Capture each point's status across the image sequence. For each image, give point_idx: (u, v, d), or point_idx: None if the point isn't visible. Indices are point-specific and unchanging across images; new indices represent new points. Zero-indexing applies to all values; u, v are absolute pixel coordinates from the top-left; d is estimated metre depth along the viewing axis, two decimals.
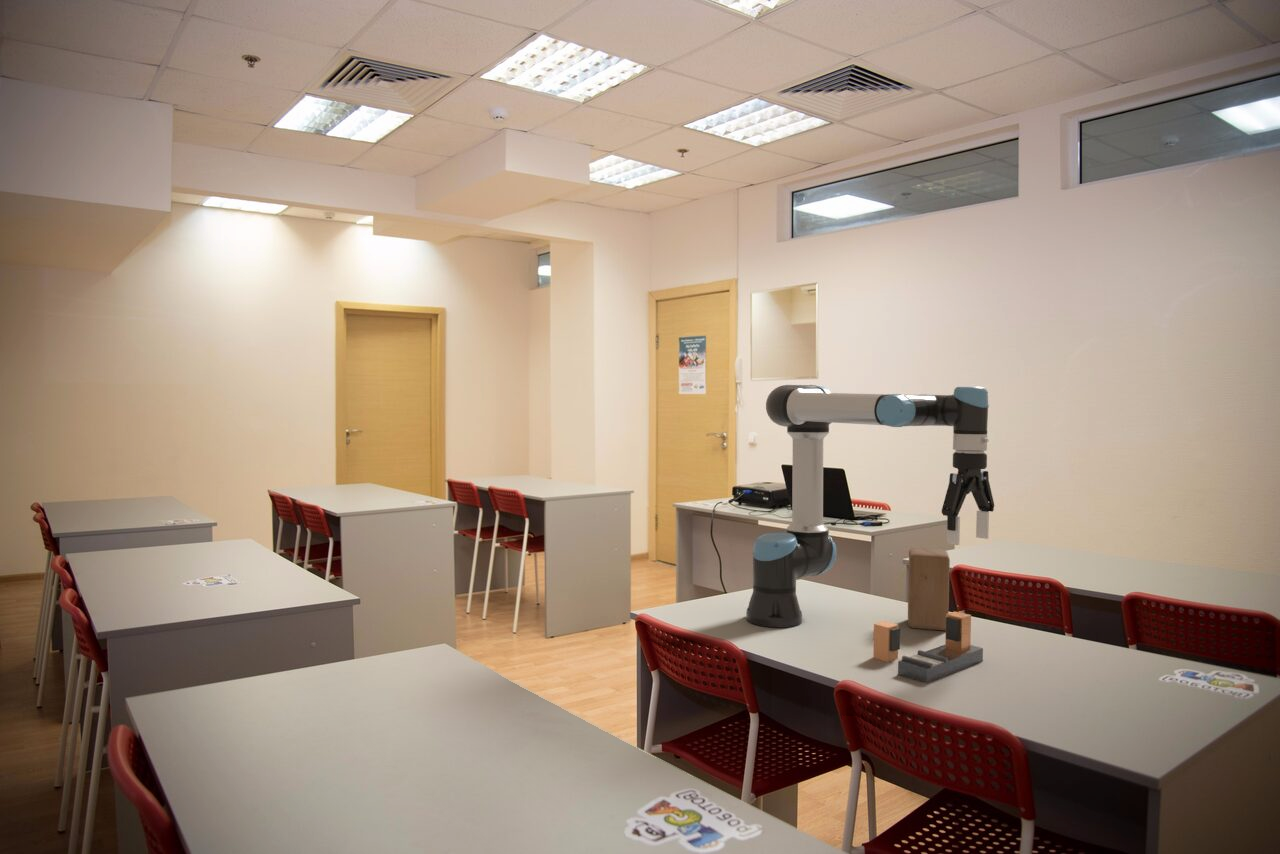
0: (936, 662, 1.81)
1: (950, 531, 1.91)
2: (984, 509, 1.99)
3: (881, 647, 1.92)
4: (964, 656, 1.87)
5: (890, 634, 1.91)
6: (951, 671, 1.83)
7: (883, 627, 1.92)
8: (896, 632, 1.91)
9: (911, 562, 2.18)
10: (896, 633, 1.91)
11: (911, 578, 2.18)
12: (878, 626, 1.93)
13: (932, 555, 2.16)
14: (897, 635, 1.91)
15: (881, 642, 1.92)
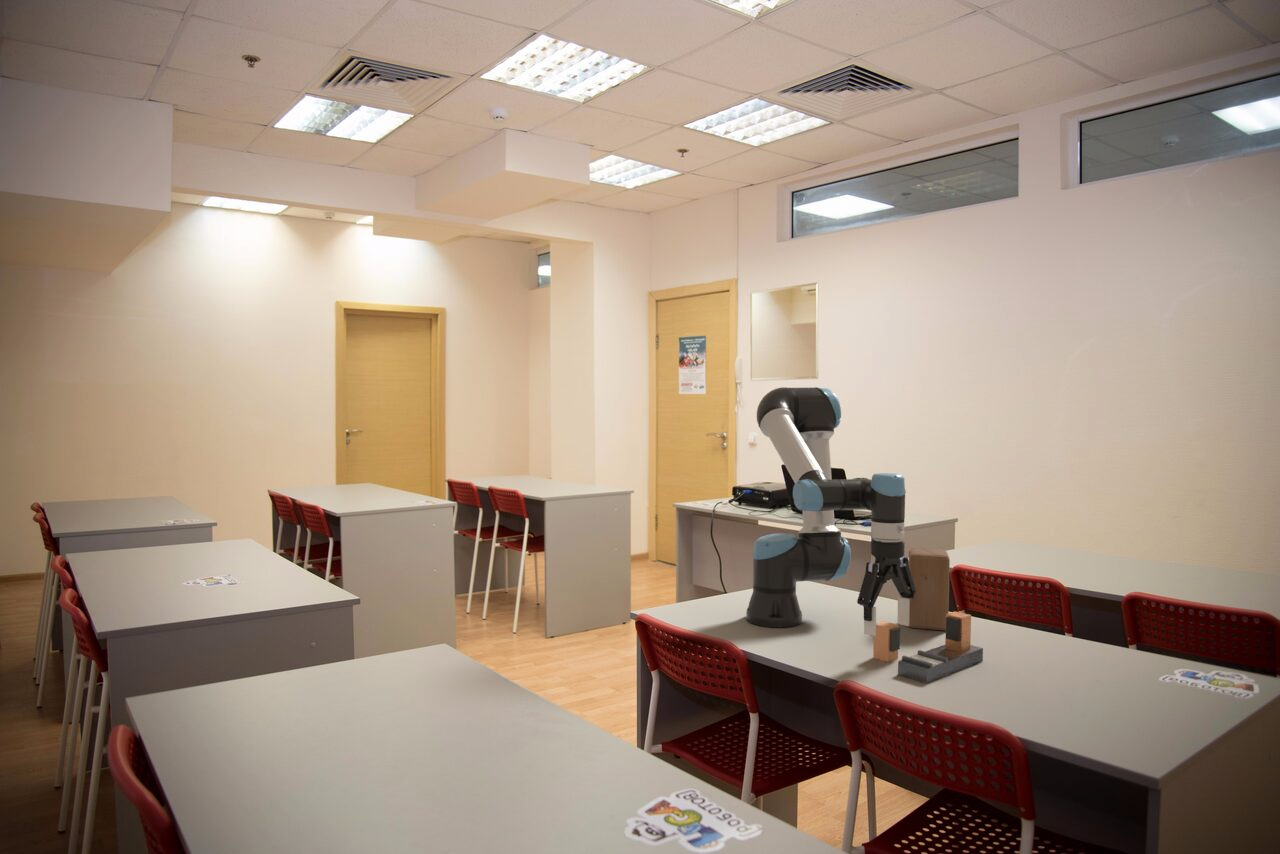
0: (936, 662, 1.81)
1: (867, 621, 1.89)
2: (905, 595, 1.97)
3: (881, 647, 1.92)
4: (964, 656, 1.87)
5: (890, 634, 1.91)
6: (951, 671, 1.83)
7: (883, 627, 1.92)
8: (896, 632, 1.91)
9: (911, 562, 2.18)
10: (896, 633, 1.91)
11: None
12: (878, 626, 1.93)
13: (932, 555, 2.16)
14: (897, 635, 1.91)
15: (881, 642, 1.92)
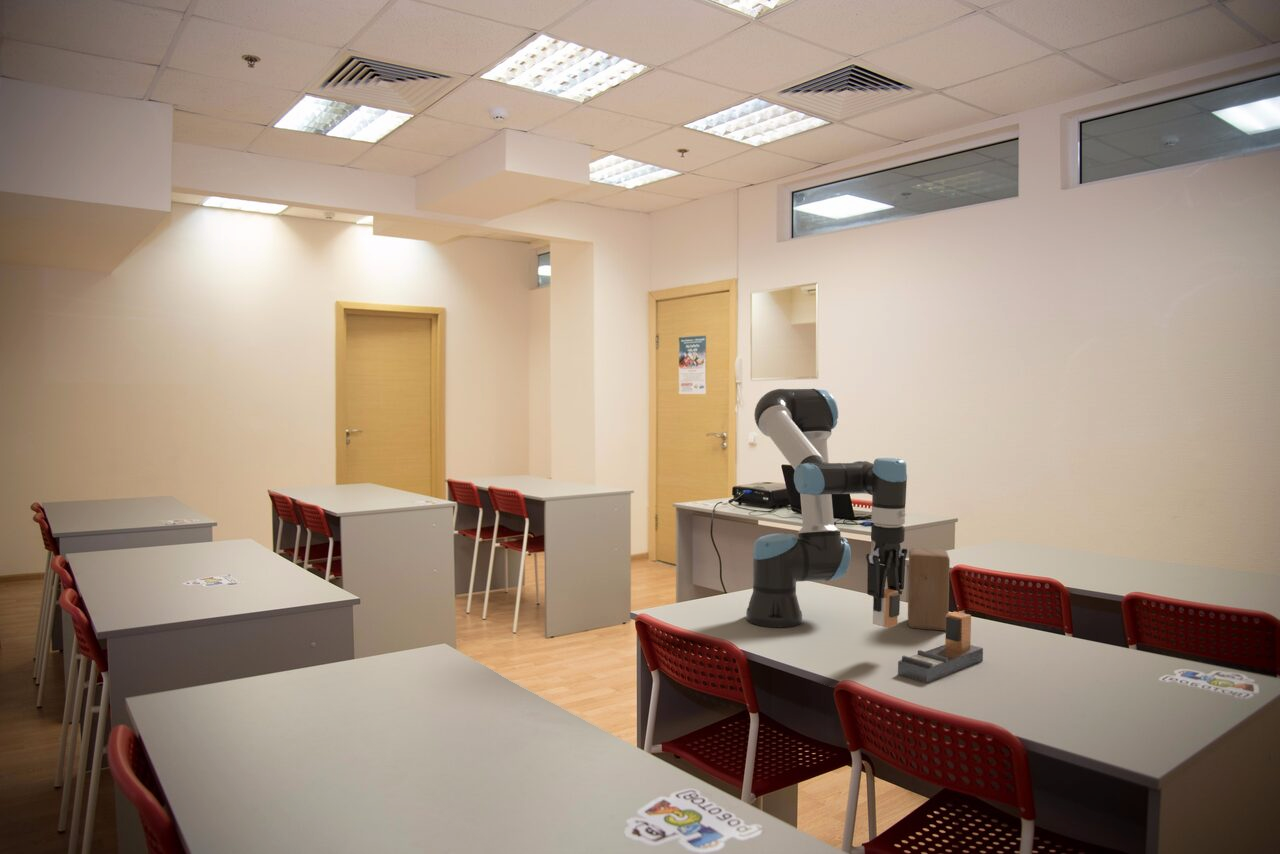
0: (936, 662, 1.81)
1: (876, 611, 1.92)
2: None
3: None
4: (964, 656, 1.87)
5: (890, 600, 1.91)
6: (951, 671, 1.83)
7: None
8: (895, 598, 1.91)
9: (911, 562, 2.18)
10: (896, 599, 1.91)
11: (911, 578, 2.18)
12: None
13: (932, 555, 2.16)
14: (897, 601, 1.92)
15: None
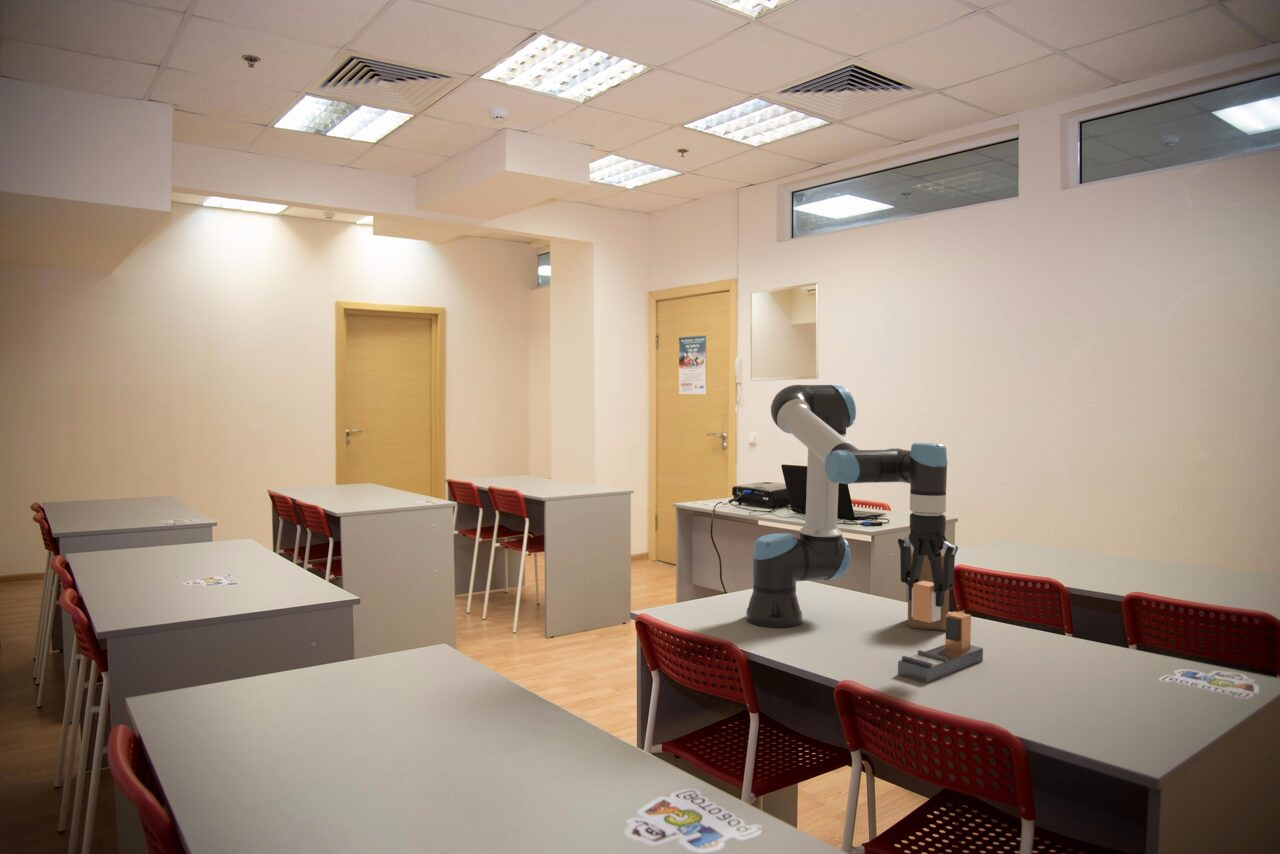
0: (936, 662, 1.81)
1: (936, 607, 1.79)
2: None
3: None
4: (964, 656, 1.87)
5: None
6: (951, 671, 1.83)
7: None
8: None
9: (911, 562, 2.18)
10: None
11: None
12: (932, 587, 1.80)
13: None
14: None
15: None
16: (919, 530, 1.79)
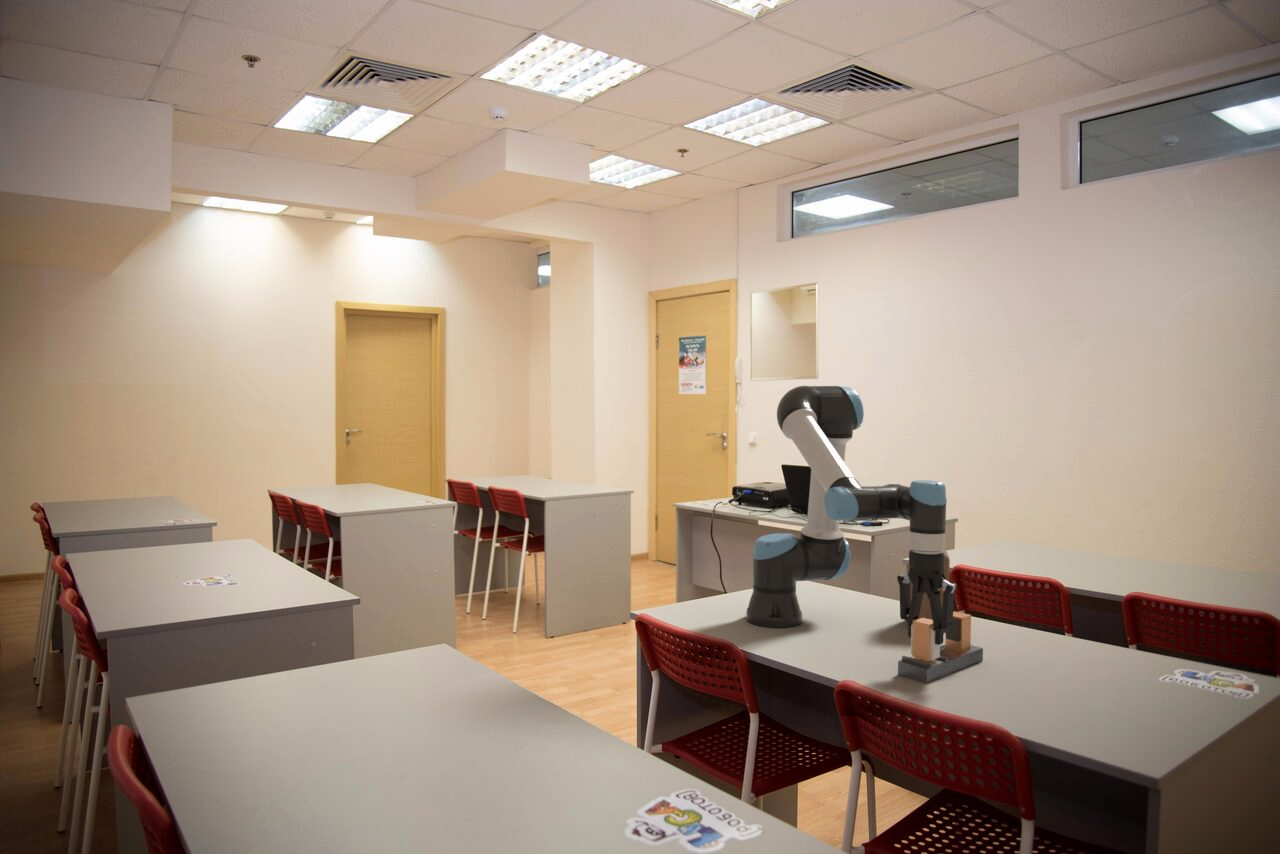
0: (936, 662, 1.81)
1: (935, 645, 1.80)
2: None
3: None
4: (964, 656, 1.87)
5: None
6: (951, 671, 1.83)
7: None
8: None
9: None
10: None
11: None
12: (932, 625, 1.80)
13: None
14: None
15: None
16: (918, 568, 1.79)
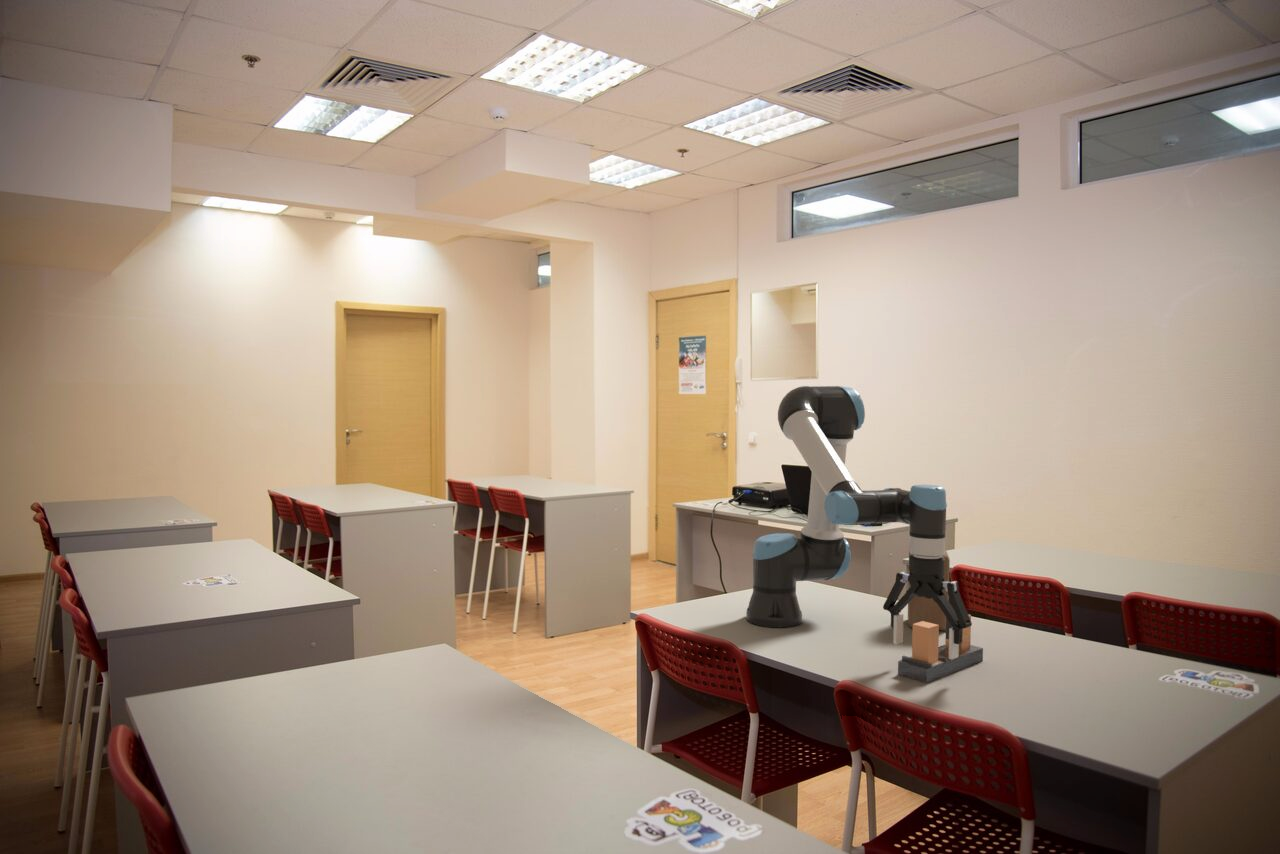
0: (936, 662, 1.81)
1: (954, 645, 1.76)
2: (897, 612, 1.88)
3: (934, 649, 1.81)
4: (964, 656, 1.87)
5: None
6: (951, 671, 1.83)
7: (935, 627, 1.81)
8: None
9: None
10: None
11: None
12: (932, 628, 1.80)
13: None
14: None
15: (934, 643, 1.81)
16: (918, 573, 1.79)
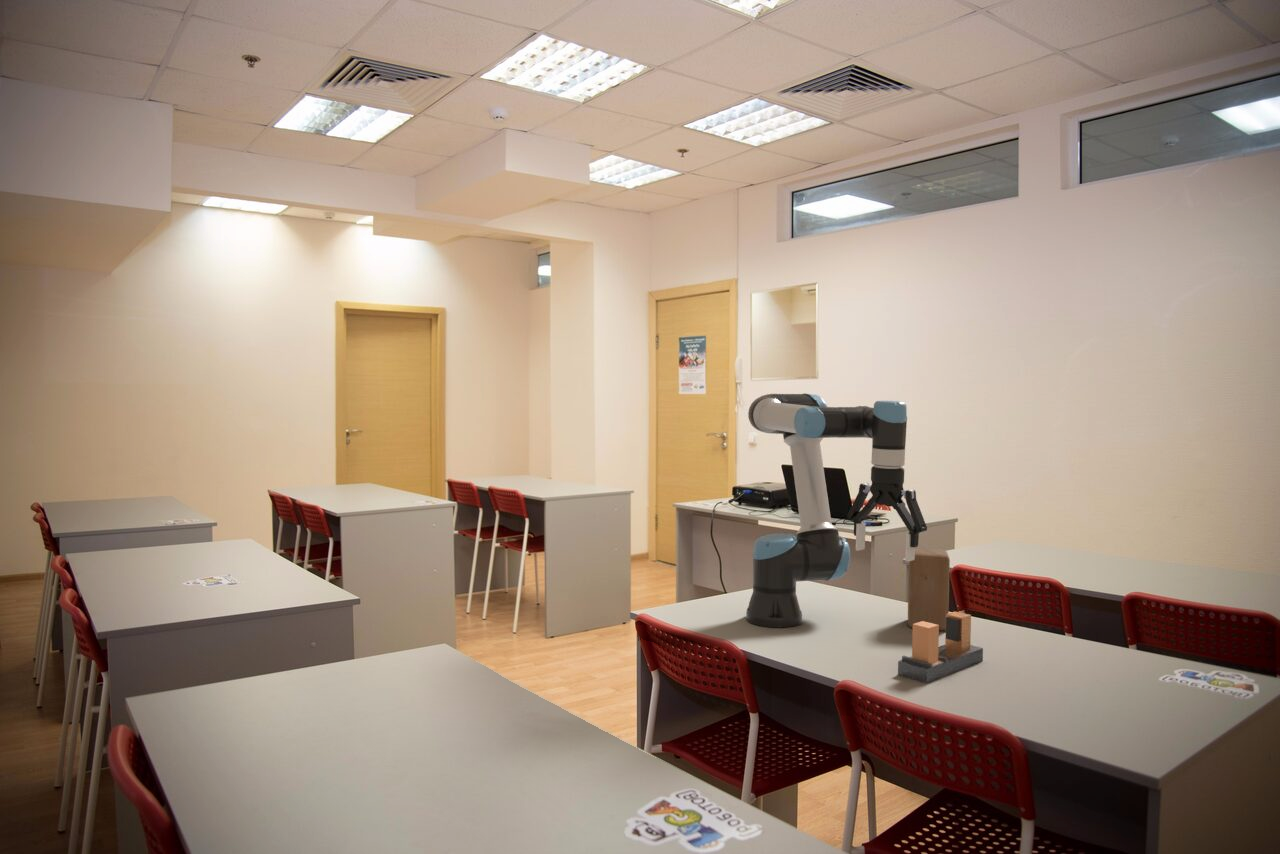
0: (936, 662, 1.81)
1: (910, 548, 1.89)
2: (860, 521, 2.00)
3: (934, 649, 1.81)
4: (964, 656, 1.87)
5: None
6: (951, 671, 1.83)
7: (935, 627, 1.81)
8: None
9: (911, 562, 2.18)
10: None
11: (911, 578, 2.18)
12: (932, 628, 1.80)
13: (932, 555, 2.16)
14: None
15: (934, 643, 1.81)
16: (879, 482, 1.91)
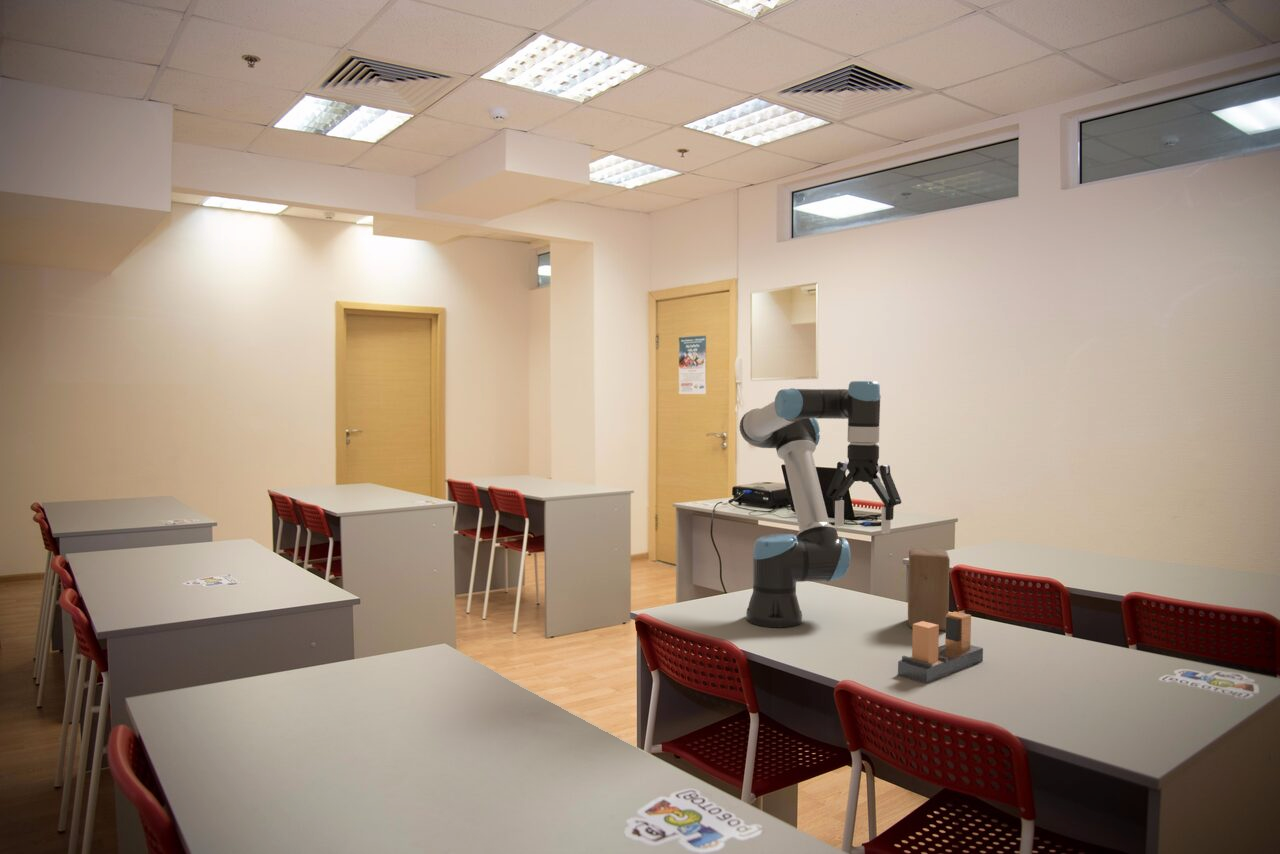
0: (936, 662, 1.81)
1: (886, 521, 1.97)
2: (839, 498, 2.08)
3: (934, 649, 1.81)
4: (964, 656, 1.87)
5: None
6: (951, 671, 1.83)
7: (935, 627, 1.81)
8: None
9: (911, 562, 2.18)
10: None
11: (911, 578, 2.18)
12: (932, 628, 1.80)
13: (932, 555, 2.16)
14: None
15: (934, 643, 1.81)
16: (855, 458, 1.99)
